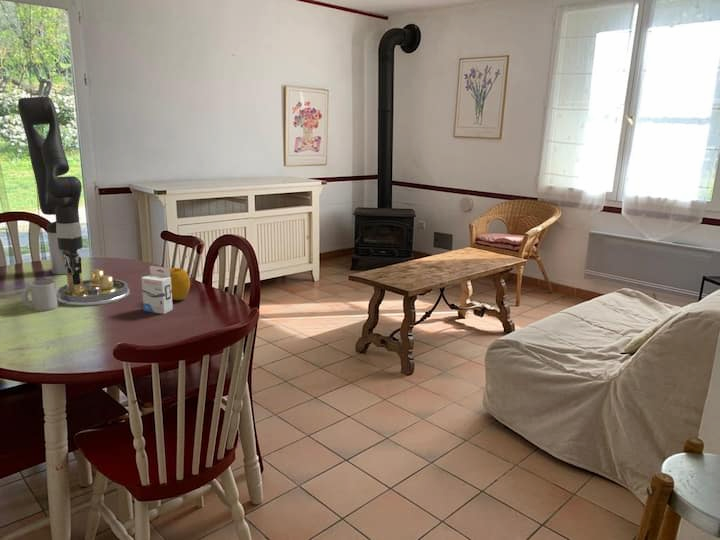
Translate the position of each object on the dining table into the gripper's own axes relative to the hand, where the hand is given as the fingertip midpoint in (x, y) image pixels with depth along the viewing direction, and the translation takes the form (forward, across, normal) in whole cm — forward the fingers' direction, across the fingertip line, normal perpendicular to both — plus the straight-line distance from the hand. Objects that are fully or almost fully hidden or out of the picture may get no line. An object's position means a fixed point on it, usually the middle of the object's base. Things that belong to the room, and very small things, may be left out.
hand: (74, 282), depth 193 cm
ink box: (+6, +29, +18) cm, 35 cm away
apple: (+6, +21, +28) cm, 36 cm away
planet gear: (+5, 0, 0) cm, 5 cm away
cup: (+6, +4, -12) cm, 14 cm away
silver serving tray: (+6, 0, +6) cm, 9 cm away
